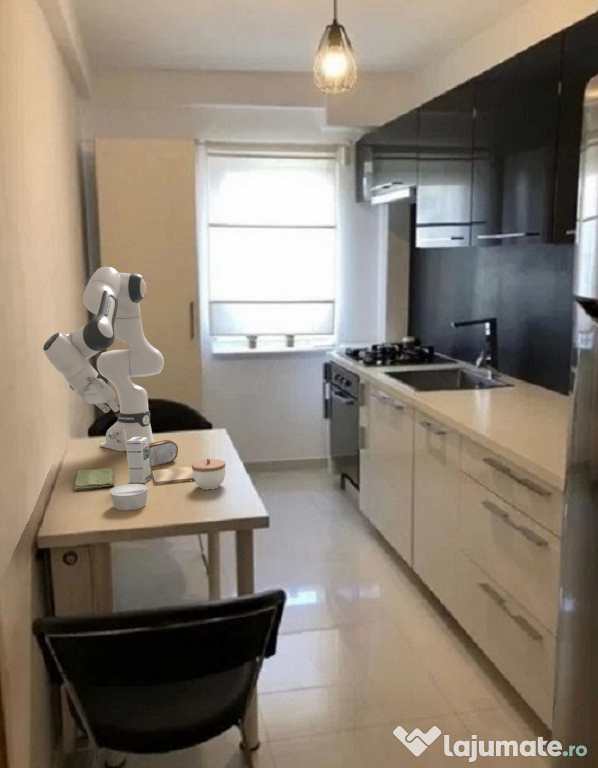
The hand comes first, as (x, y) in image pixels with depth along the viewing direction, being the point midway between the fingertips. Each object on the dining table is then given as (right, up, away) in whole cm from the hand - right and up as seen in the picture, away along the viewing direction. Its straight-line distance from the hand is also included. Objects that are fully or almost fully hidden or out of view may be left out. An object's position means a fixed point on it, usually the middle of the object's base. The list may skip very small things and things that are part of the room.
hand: (112, 411), depth 232 cm
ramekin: (+10, -28, -16) cm, 34 cm away
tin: (+10, -21, +28) cm, 36 cm away
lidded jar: (+32, -25, -1) cm, 40 cm away
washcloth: (-8, -25, +9) cm, 28 cm away
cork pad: (+18, -23, +12) cm, 31 cm away
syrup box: (+7, -24, +9) cm, 26 cm away
